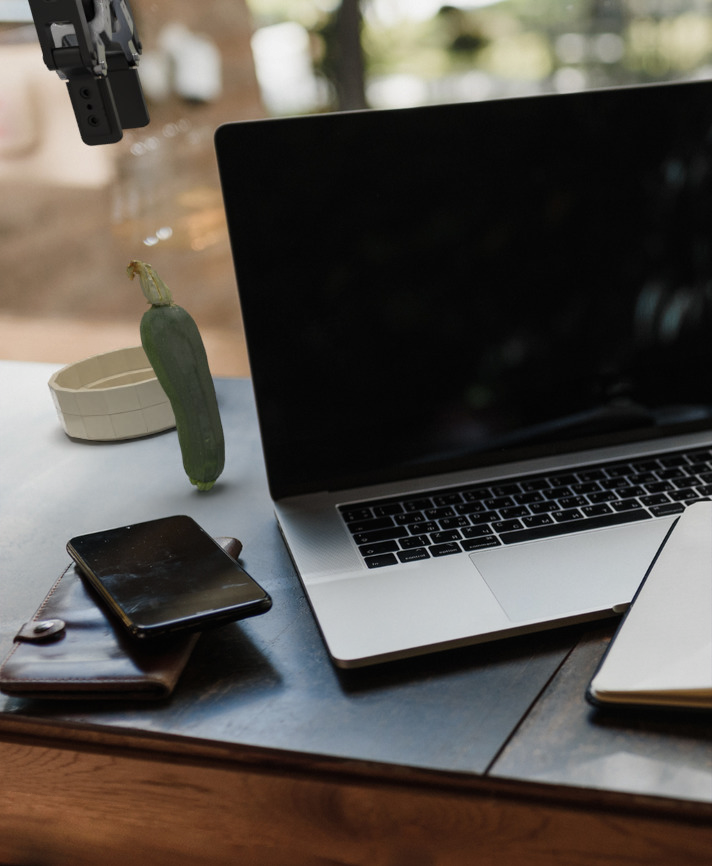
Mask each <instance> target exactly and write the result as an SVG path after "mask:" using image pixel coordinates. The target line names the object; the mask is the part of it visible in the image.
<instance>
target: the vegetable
mask: <svg viewBox="0 0 712 866" xmlns="http://www.w3.org/2000/svg"><path fill="white" fill-rule="evenodd" d="M151 267H152V264H149V263H145V262H143V261H140V260H137V259H132V260H131V261H130V262H129V263H128V265H127V266H126V271H125V274H126V277H127V278H128V279H129V281H130V282H133V281H134V278H135V277H136V275H138V277H139V278H138V281H139V285H140V288H141V291H142V293H143V296H144V297H145V299H146V300H147V301H146V304H147V305H151V306H150V307H149V308H148V309H147V310H146V311H144V312H143V315H142V317H141V320H140V323H139V334H140V335H139V336H140V337H139V338H140V342H141V345H142V347H143V349H144V351H145V353H146V356H147V358H148V360H149V362H150V364H151V366H152V368H153V370H154V372H155V375H156V377H157V379H158V381H159V383H160V385H161V387H162V388H163V390H164V392H165V394H166V395H167V397H168V398H169V400H170V403H171V406H172V410H173V413H174V416H175V421H176V427H175V428H176V433H177V439H178V445H179V448H180V453H181V460H182V461H181V462H182V466H183V470H184V472H185V475H186V476H187V477H188V480H189V482H190V484H191V485H192V486H196V488H197V490H198V491H210V490H211V489H212V488H213V486H214V485H215V484H216V482H217V479H218V478H220V476H221V475H222V474H223V472H224V469H225V464H226V441H225V440H226V439H225V435H224V434H225V433H224V428H223V422H222V418H221V413H220V409H219V404H218V398H217V393H215V392H216V388H215V384H214V383H215V382H214V380H213V376H212V373H211V370H210V364H209V359H208V355H207V351H206V347H205V344H204V342H203V338H202V335H201V332H200V330H199V328H198V326H197V323H196V321H195V319H194V318H193V317H192V315H191V314H190V313H189V312H188V311H187V310H186V309H185V308H184V307H182V306H180V305H178V304H175V303H174V302H175V301H174V300H173V292H172V290H171V288H169V286H168V285H167V284H166V282H165V281H164V280H162V278H161V276H160V275H159V274H158V271H157V270H156V269H153V268H151Z"/></svg>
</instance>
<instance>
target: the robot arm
mask: <svg viewBox="0 0 712 866" xmlns="http://www.w3.org/2000/svg"><path fill="white" fill-rule="evenodd" d="M27 2H28V6H29V10H30V14H31V17H32V21H33V23H34V28H35V32H36V36H37V39H38V42H39V46H40V50H41V54H42V61H43V63H44V65H45V66H46V68H47V70H48V71H49V72H55V74H56V75H57V76H58V78H59V80H61V81H66V82H64V83H65V86H66V89H67V93H68V97H69V100H70V103H71V107H72V110H73V114H74V117H75V121H76V124H77V128H78V131H79V135H80V139H81V141H82V142H83V143H84V145H86V146H88V147H95V146H104V145H114V144H117V143H120V142H121V141H122V140H123V138H124V132H123V130H131V129H142V128H145V127H147V126H148V125H149V124H150V123H151V116H150V113H149V109H148V105H147V102H146V97H145V94H144V90H143V86H142V82H141V79H140V78H141V77H140V74H139V71H138V67H140V59H141V58H140V56H141V55H142V54H143V44H142V42H141V41H140V38H139V34H138V30H137V26H136V22H135V19H134V14H133V12H132V7H131V4H130V1H129V0H27ZM60 23H61V24H60Z"/></svg>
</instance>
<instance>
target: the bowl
mask: <svg viewBox="0 0 712 866" xmlns="http://www.w3.org/2000/svg"><path fill="white" fill-rule="evenodd" d="M47 387H48V390H49V392H50V395H51V399H52V401H53V404H54V407H55V410H56V413H57V417H58V419H59V422H60V426H61V429H62V430H63V431H64V432H65V433H66V434H67V435H68V436H69V437H72V438H78V439H83V440H88V441H97V442H99V441H100V442H111V441H123V440H129V439H137V438H140V437H146V436H150V435H153V434H158V433H160V432H164V431H167V430H170V429H172V428H176V421H175V416H174V413H173V410H172V406H171V403H170V400H169V398H168V397H167V395H166V394H165V392H164V390H163V388H162V387H161V385H160V383H159V381H158V379H157V377H156V375H155V372H154V370H153V368H152V366H151V364H150V362H149V360H148V358H147V356H146V353H145V351H144V349H143V347H142V344H137V345H136V344H135V345H131V346H125V347H119V348H115V349H111V350H107V351H104V352H100V353H96V354H94V355H90V356H88V357H84V358H82V359H80V360H77V361H73V362H71V363H69V364H67V365H66V366H64V367H62V368H61V369H58V370H57V371H56V372H54V373H53V374H52V375H51V377H50V378H49V380H48V381H47ZM215 393H216V391H215ZM216 394H217V393H216Z"/></svg>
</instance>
